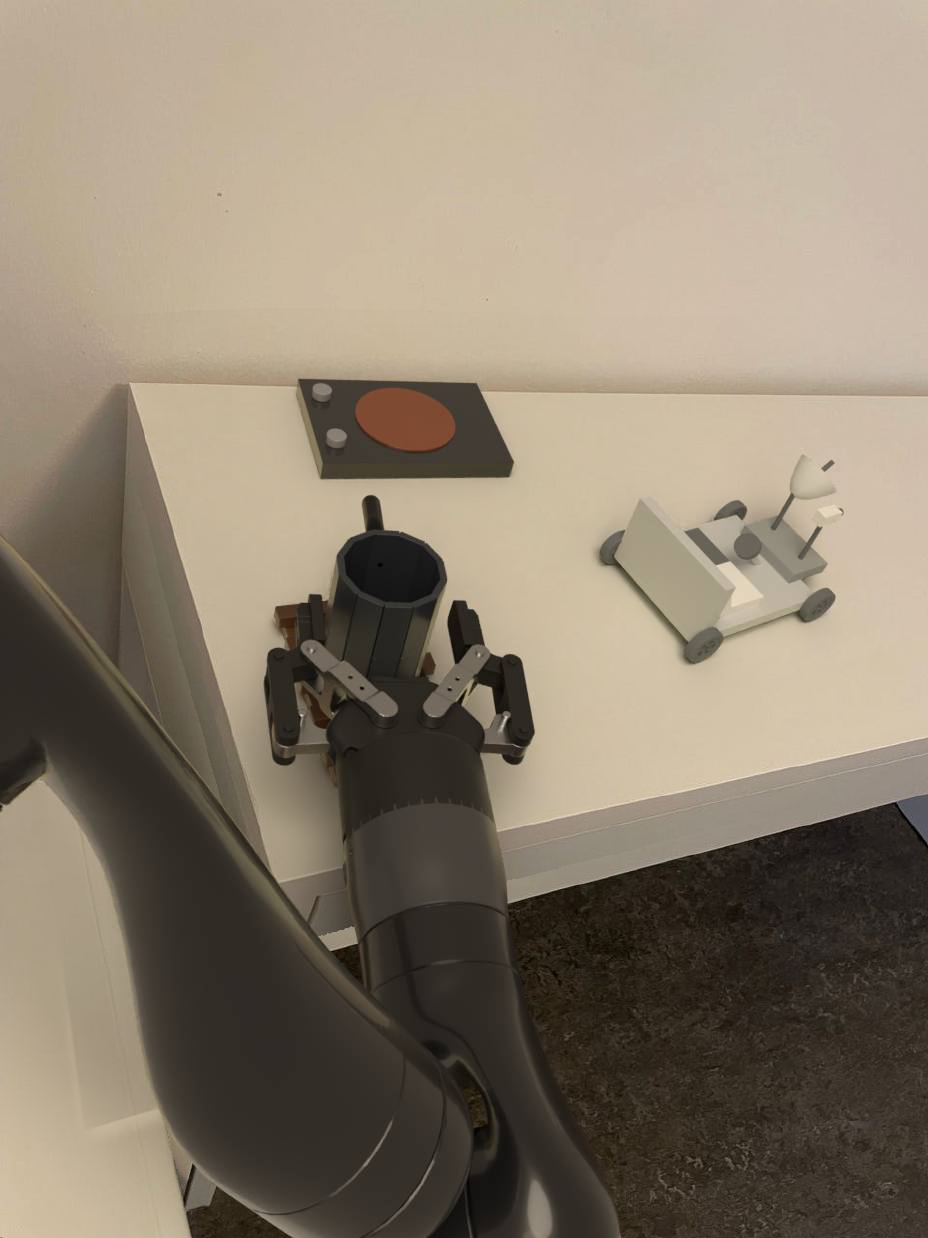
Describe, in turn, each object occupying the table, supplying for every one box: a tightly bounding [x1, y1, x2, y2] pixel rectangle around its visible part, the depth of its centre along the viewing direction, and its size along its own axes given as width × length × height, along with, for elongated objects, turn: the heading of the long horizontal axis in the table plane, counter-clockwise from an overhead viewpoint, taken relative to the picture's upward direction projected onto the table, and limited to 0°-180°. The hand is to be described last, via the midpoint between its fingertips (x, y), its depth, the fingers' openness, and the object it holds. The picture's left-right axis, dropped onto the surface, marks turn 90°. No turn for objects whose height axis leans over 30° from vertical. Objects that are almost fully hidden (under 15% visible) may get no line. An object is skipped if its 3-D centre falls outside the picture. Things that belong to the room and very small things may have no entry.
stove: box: [295, 378, 515, 480], centre depth 86 cm, size 16×11×2 cm
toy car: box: [599, 453, 844, 664], centre depth 79 cm, size 18×10×12 cm
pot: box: [324, 494, 448, 700], centre depth 64 cm, size 12×6×9 cm, turn 10°
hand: (385, 606), depth 61 cm, fingers open, 8 cm apart
